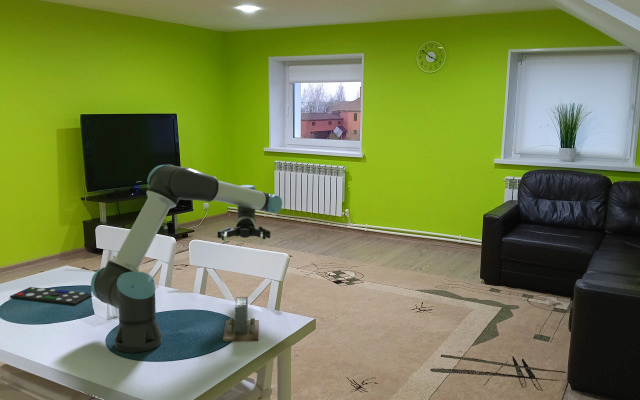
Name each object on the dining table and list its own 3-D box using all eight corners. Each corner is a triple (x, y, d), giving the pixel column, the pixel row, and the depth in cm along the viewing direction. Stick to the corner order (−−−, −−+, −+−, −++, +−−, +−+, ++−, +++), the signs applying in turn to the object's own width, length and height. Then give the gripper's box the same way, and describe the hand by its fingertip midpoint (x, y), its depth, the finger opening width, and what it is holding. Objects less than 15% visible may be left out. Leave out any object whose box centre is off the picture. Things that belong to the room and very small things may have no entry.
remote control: (30, 290, 236) (30, 285, 236) (93, 297, 229) (92, 292, 229) (10, 299, 225) (10, 294, 225) (75, 306, 219) (75, 302, 218)
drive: (235, 334, 192) (234, 306, 190) (236, 323, 202) (236, 296, 200) (246, 334, 192) (246, 306, 190) (247, 323, 202) (247, 296, 200)
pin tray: (222, 341, 189) (222, 331, 188) (226, 323, 204) (226, 314, 204) (258, 340, 190) (258, 331, 189) (258, 322, 206) (258, 313, 205)
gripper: (275, 235, 229) (276, 249, 208) (214, 235, 227) (209, 249, 206) (276, 218, 228) (276, 229, 207) (214, 217, 225) (209, 229, 204)
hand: (243, 239), depth 206 cm, fingers open, 13 cm apart
